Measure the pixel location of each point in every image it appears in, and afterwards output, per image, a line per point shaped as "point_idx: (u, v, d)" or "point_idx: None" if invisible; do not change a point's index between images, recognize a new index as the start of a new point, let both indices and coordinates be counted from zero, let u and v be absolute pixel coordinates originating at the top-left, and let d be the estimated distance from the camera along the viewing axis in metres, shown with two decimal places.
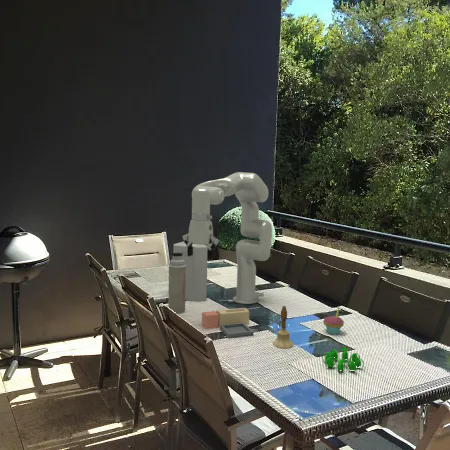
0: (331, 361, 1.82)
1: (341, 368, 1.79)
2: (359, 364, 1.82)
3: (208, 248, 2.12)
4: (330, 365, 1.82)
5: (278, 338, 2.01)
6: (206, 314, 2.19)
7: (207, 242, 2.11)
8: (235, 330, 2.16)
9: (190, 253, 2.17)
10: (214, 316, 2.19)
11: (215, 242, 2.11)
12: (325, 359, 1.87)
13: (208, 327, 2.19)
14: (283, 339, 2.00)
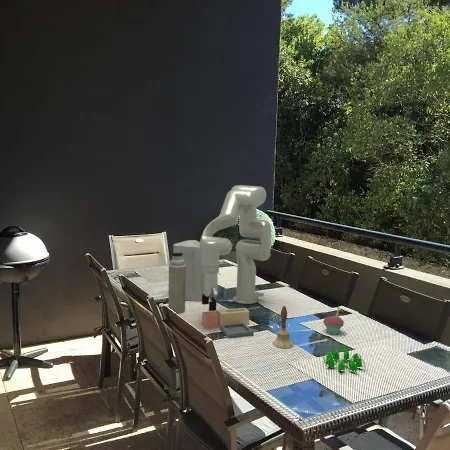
0: (332, 361, 1.82)
1: (342, 368, 1.79)
2: (360, 364, 1.82)
3: None
4: (331, 365, 1.82)
5: (278, 338, 2.01)
6: (206, 314, 2.18)
7: None
8: (235, 330, 2.16)
9: None
10: (214, 316, 2.19)
11: None
12: (326, 359, 1.87)
13: (208, 327, 2.19)
14: (283, 339, 2.00)
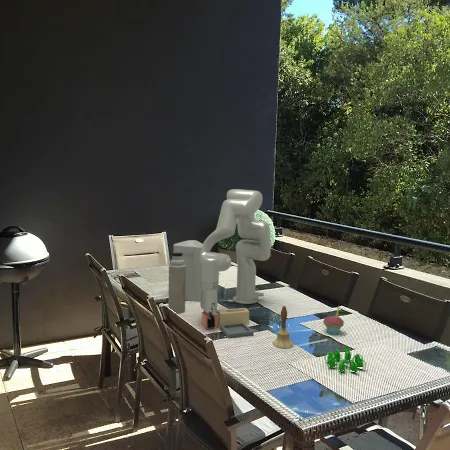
0: (333, 361, 1.82)
1: (342, 368, 1.79)
2: (361, 365, 1.81)
3: None
4: (332, 365, 1.82)
5: (278, 338, 2.01)
6: (206, 314, 2.18)
7: None
8: (235, 330, 2.16)
9: None
10: None
11: None
12: (327, 359, 1.87)
13: None
14: (283, 339, 2.00)
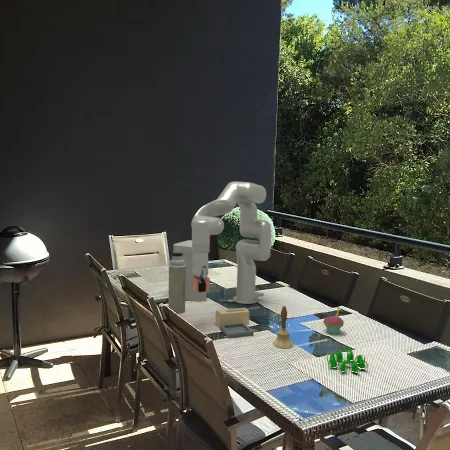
0: (334, 361, 1.82)
1: (343, 369, 1.79)
2: (363, 366, 1.81)
3: (201, 276, 2.20)
4: (333, 365, 1.82)
5: (278, 338, 2.01)
6: (197, 278, 2.14)
7: None
8: (235, 330, 2.16)
9: None
10: None
11: None
12: (329, 359, 1.86)
13: None
14: (283, 339, 2.00)
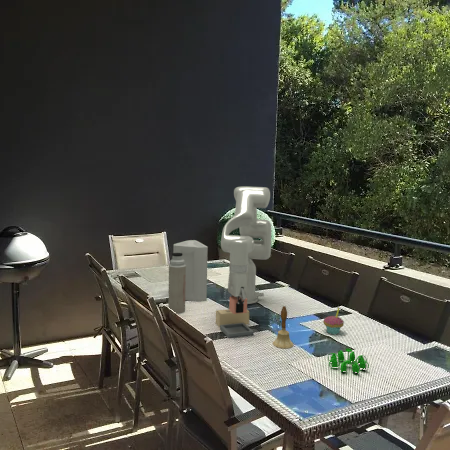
0: (335, 362, 1.82)
1: (344, 369, 1.78)
2: (364, 366, 1.80)
3: None
4: (334, 366, 1.82)
5: (278, 338, 2.01)
6: (235, 299, 2.11)
7: None
8: (235, 330, 2.16)
9: None
10: None
11: None
12: (330, 360, 1.86)
13: None
14: (283, 339, 2.00)
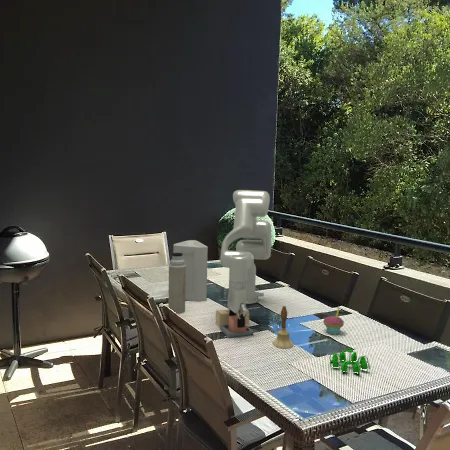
0: (336, 362, 1.81)
1: (344, 369, 1.78)
2: (365, 367, 1.80)
3: None
4: (335, 366, 1.82)
5: (278, 338, 2.01)
6: (234, 318, 2.12)
7: None
8: None
9: None
10: None
11: None
12: (332, 360, 1.86)
13: (236, 331, 2.12)
14: (283, 339, 2.00)
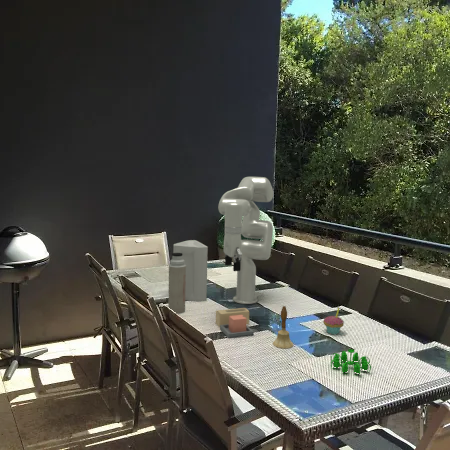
0: (336, 362, 1.81)
1: (345, 370, 1.78)
2: (366, 367, 1.79)
3: None
4: (335, 366, 1.81)
5: (278, 338, 2.01)
6: (234, 318, 2.12)
7: None
8: None
9: None
10: (241, 320, 2.13)
11: None
12: (333, 360, 1.86)
13: (236, 331, 2.12)
14: (283, 339, 2.00)
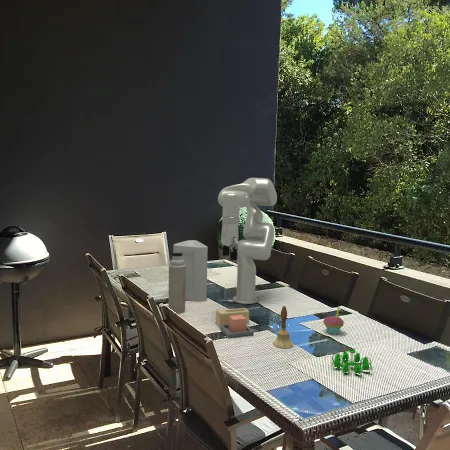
0: (337, 362, 1.81)
1: (346, 370, 1.78)
2: (367, 368, 1.79)
3: None
4: (336, 366, 1.81)
5: (278, 338, 2.01)
6: (234, 318, 2.12)
7: None
8: None
9: None
10: (241, 320, 2.13)
11: None
12: None
13: (236, 331, 2.12)
14: (283, 339, 2.00)
